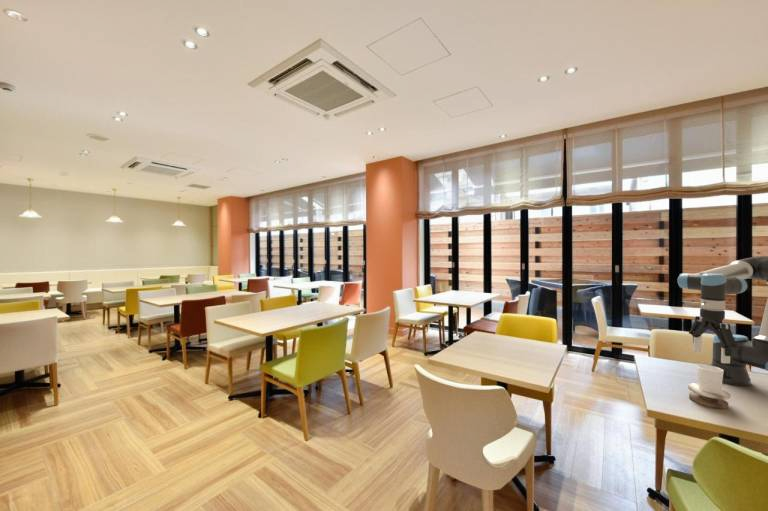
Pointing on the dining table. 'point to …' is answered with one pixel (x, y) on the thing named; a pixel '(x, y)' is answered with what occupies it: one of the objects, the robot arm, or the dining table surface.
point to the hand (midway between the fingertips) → (710, 356)
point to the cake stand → (708, 397)
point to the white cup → (710, 378)
